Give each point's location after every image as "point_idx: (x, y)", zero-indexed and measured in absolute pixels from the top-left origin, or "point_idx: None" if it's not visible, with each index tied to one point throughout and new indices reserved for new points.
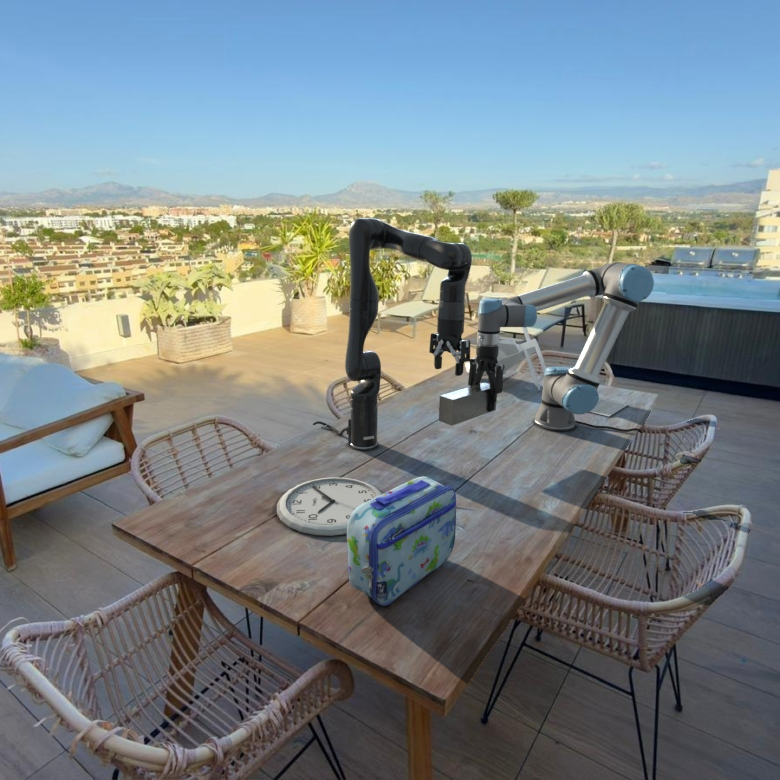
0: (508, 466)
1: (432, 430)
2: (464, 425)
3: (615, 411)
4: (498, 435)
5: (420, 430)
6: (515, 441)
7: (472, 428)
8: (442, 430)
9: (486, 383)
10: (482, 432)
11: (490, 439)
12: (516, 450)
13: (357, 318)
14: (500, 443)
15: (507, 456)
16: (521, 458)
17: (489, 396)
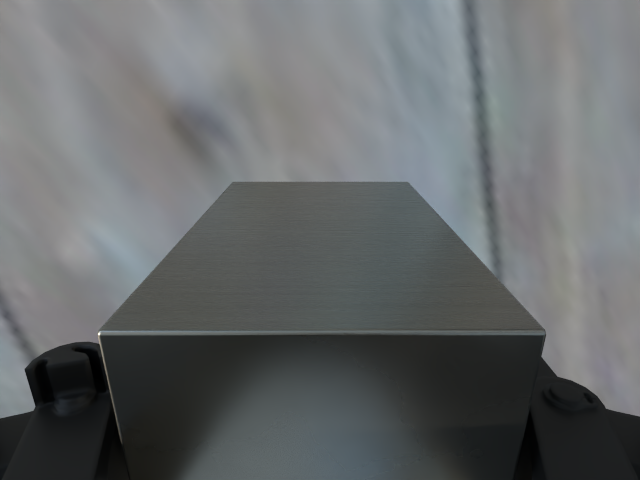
0: (597, 344)
1: (57, 298)
2: (84, 85)
3: None
4: (346, 48)
5: (27, 342)
6: (482, 46)
7: (155, 86)
8: (85, 257)
9: (202, 362)
10: (245, 92)
11: (352, 148)
12: (549, 164)
13: None
14: (429, 151)
15: (545, 264)
16: (614, 231)
17: None
